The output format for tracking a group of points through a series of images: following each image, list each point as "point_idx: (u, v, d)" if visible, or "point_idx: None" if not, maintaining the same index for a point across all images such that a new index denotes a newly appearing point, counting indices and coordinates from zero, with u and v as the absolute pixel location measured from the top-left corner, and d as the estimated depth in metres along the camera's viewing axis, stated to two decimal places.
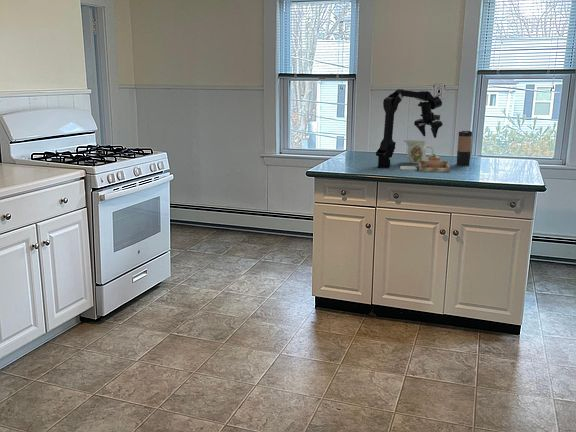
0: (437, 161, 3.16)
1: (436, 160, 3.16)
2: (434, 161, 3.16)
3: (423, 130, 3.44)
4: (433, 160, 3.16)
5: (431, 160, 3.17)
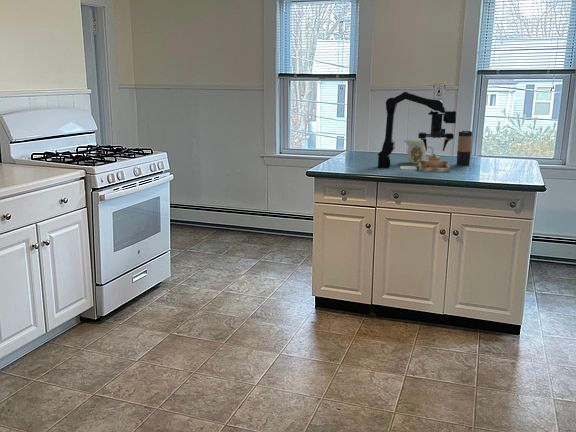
0: (437, 161, 3.16)
1: (436, 160, 3.16)
2: (434, 161, 3.16)
3: None
4: (433, 160, 3.16)
5: (431, 160, 3.17)
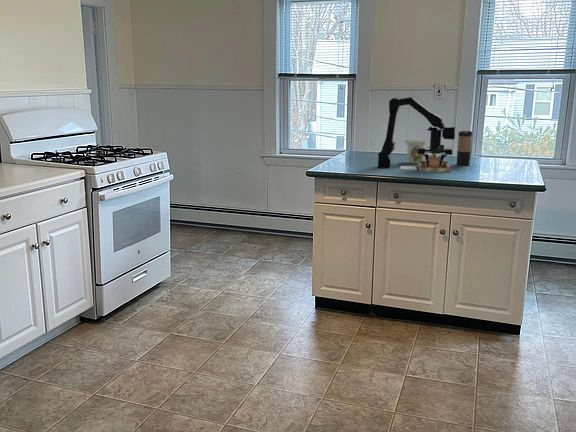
0: (437, 161, 3.16)
1: (436, 160, 3.16)
2: (434, 161, 3.16)
3: (440, 160, 3.19)
4: (433, 160, 3.16)
5: (431, 160, 3.17)
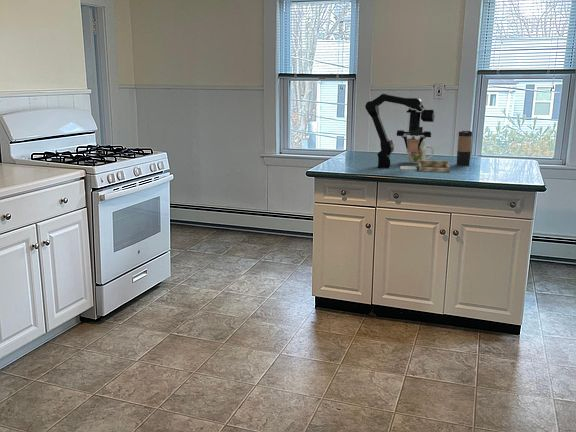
0: (416, 143, 3.16)
1: (415, 142, 3.16)
2: (413, 143, 3.16)
3: None
4: (412, 142, 3.16)
5: (410, 142, 3.17)
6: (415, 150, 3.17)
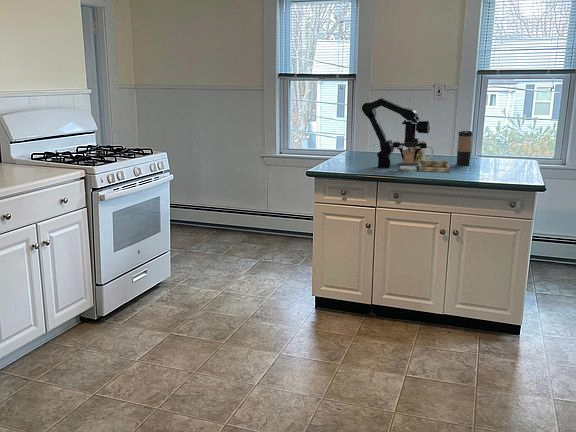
0: (412, 155, 3.18)
1: (411, 154, 3.18)
2: (409, 155, 3.18)
3: None
4: (408, 154, 3.18)
5: (406, 154, 3.18)
6: (411, 161, 3.19)
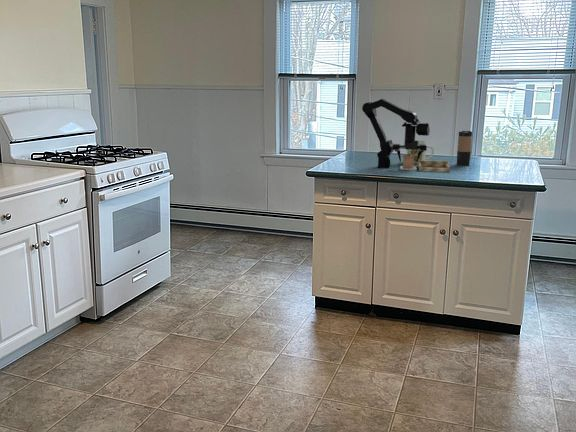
0: (411, 160, 3.19)
1: (410, 159, 3.18)
2: (408, 160, 3.19)
3: (417, 156, 3.20)
4: (407, 159, 3.19)
5: (406, 159, 3.19)
6: (411, 166, 3.20)
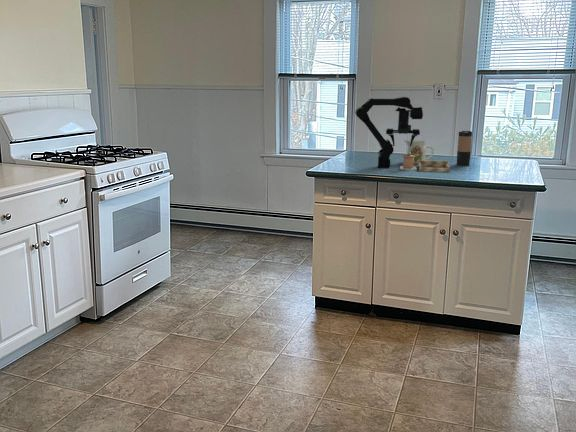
0: (411, 160, 3.19)
1: (410, 159, 3.18)
2: (409, 160, 3.19)
3: None
4: (408, 159, 3.19)
5: (406, 159, 3.19)
6: (411, 166, 3.20)
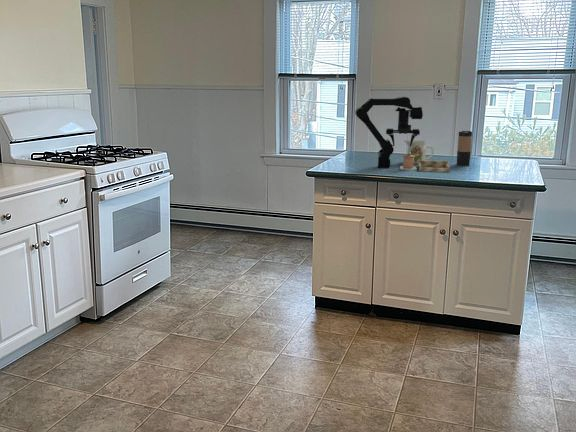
0: (411, 160, 3.19)
1: (410, 159, 3.18)
2: (409, 160, 3.19)
3: None
4: (408, 159, 3.19)
5: (406, 159, 3.19)
6: (411, 166, 3.20)
